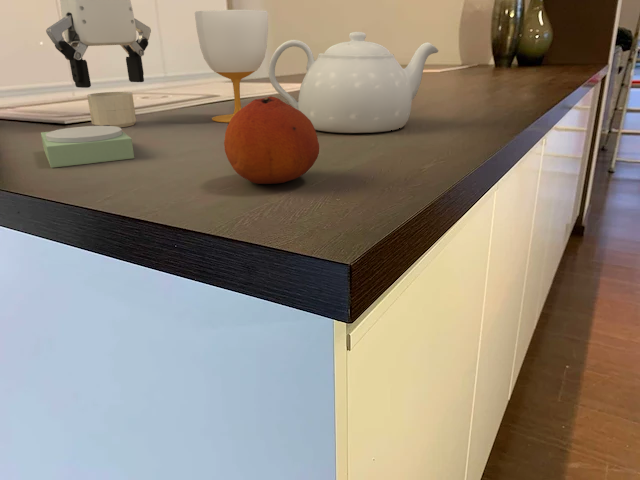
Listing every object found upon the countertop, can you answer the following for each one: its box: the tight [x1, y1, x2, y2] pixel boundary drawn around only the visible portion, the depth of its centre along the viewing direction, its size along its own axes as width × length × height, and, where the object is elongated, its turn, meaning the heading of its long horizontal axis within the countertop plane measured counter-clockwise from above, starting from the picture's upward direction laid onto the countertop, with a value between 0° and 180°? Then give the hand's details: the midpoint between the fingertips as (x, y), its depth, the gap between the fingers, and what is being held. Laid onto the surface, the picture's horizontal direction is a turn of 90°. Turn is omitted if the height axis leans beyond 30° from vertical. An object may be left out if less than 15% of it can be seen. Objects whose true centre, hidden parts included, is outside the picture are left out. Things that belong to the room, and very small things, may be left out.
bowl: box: [86, 91, 137, 129], centre depth 87 cm, size 7×7×5 cm
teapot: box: [267, 31, 439, 134], centre depth 81 cm, size 19×18×14 cm
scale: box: [40, 125, 135, 169], centre depth 65 cm, size 11×9×3 cm
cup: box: [194, 9, 269, 124], centre depth 90 cm, size 12×12×17 cm
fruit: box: [223, 95, 320, 185], centre depth 51 cm, size 9×9×8 cm
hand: (111, 84), depth 86 cm, fingers open, 9 cm apart
